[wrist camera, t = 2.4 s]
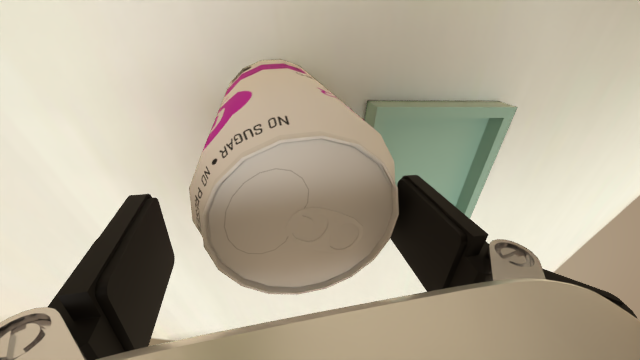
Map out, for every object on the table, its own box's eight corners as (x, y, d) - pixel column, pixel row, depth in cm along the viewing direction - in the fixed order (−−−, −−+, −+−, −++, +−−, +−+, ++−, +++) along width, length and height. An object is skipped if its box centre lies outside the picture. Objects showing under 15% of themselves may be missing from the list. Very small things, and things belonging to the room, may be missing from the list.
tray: (498, 101, 26) (517, 107, 24) (454, 213, 33) (466, 225, 31) (367, 100, 23) (377, 107, 21) (349, 224, 30) (355, 237, 28)
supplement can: (210, 136, 22) (152, 289, 9) (247, 36, 19) (235, 57, 6) (297, 169, 25) (343, 314, 12) (340, 88, 22) (457, 171, 9)
